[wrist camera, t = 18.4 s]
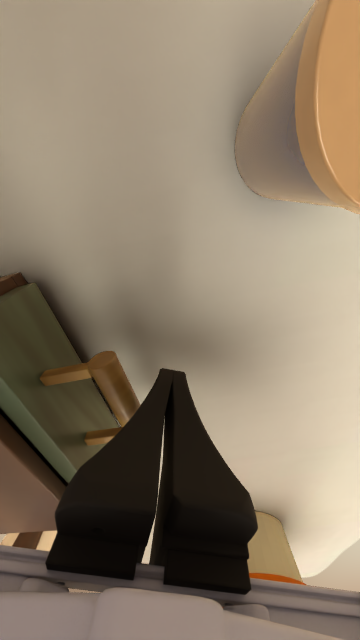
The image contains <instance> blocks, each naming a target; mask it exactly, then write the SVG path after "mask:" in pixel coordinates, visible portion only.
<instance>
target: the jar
mask: <svg viewBox="0 0 360 640" xmlns="http://www.w3.org/2000/svg"><path fill="white" fill-rule="evenodd" d="M235 159H236V164H237V168H238V171H239V173H240V176H241V178H242V179H243V181H244V182H245V184H246V185H247V186H248V187H249V188H250V189H251V190H252V191H253V192H255V193H256V194H258V195H260V196H262V197H265V198H269V199H276V200H284V201H292V202H300V203H308V204H316V205H324V206H332V207H340V208H344V209H346V210H349V211H351V212H353V213H356V214H360V0H316V1H315V2H314V4H313V5H312V7H311V8H310V10H309V11H308V13H307V14H306V16H305V17H304V19H303V20H302V22H301V23H300V25H299V27H298V28H297V30H296V31H295V33H294V34H293V36H292V37H291V39H290V40H289V42H288V43H287V45H286V46H285V48H284V49H283V51H282V53H281V54H280V56H279V57H278V59H277V60H276V62H275V63H274V65H273V66H272V68H271V69H270V71H269V72H268V74H267V75H266V77H265V78H264V80H263V82H262V83H261V85H260V86H259V88H258V89H257V91H256V92H255V94H254V95H253V97H252V98H251V100H250V101H249V103H248V105H247V106H246V108H245V110H244V112H243V114H242V116H241V119H240V122H239V124H238V128H237V132H236V138H235Z"/></svg>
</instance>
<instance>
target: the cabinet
mask: <svg viewBox="0 0 360 640" xmlns="http://www.w3.org/2000/svg"><path fill="white" fill-rule="evenodd" d="M23 285H27V282H26V281H25V279H24V277H23V276H22V274H21V273H20V272H18V273H15V274H11V275H7V276H4V277H0V296H2V295H4V294H5V293H7V292H9V291H11V290H12V289H14V288H16V287H19V286H23ZM65 489H66V486H65V485H64V483H63V482H62V481H61V480H60V479H59V478H58V477H57V476H56V475H55V473H54V472H53V471H52V470H51V469H50V468H49V467H48V466H47V465H46V464H45V462H44V461H43V460H42V459H41V458H40V457H39V456H38V455H37V454H36V453H35V451H34V450H33V449H32V448H31V447H30V446H29V445H28V444H27V443H26V442H25V440H24V439H23V438H22V437H21V436H20V435H19V434H18V433H17V432H16V430H15V429H14V428H13V427H12V426H11V425H10V424H9V423H8V422H7V421H6V419H5V418H4V417H3V416H2V415H1V414H0V534H9V533H24V532H40V531H55V530H57V528H56V522H55V511H56V509H57V506H58V504H59V501H60V499H61V497H62V495H63V493H64V491H65Z"/></svg>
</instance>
